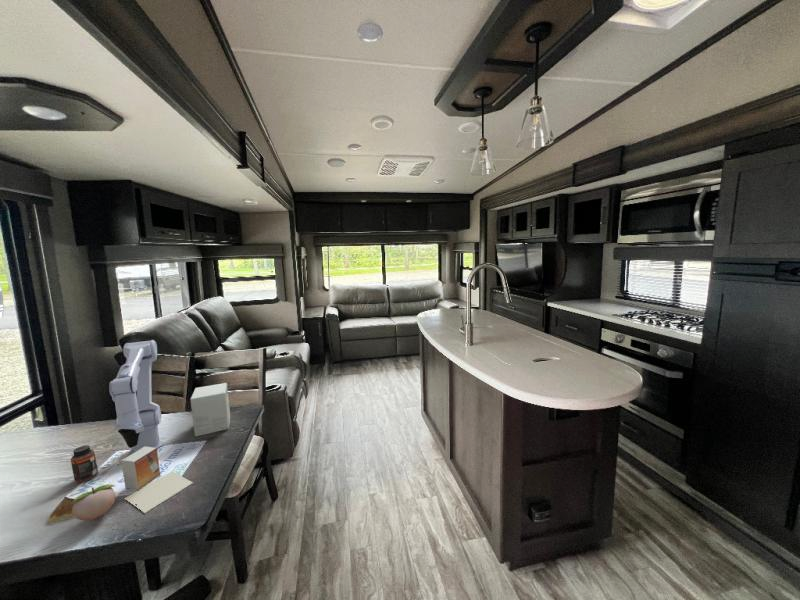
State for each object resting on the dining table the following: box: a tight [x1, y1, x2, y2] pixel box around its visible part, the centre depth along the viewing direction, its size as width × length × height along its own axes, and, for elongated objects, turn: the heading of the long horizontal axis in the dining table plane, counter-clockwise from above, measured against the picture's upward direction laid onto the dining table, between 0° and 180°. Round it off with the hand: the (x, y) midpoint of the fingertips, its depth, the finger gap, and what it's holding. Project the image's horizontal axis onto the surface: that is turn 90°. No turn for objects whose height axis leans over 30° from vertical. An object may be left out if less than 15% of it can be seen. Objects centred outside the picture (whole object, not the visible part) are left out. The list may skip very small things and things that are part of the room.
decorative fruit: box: [71, 484, 116, 522], centre depth 92 cm, size 9×8×10 cm
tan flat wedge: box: [46, 496, 75, 525], centre depth 97 cm, size 11×8×2 cm
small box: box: [120, 446, 161, 491], centre depth 107 cm, size 8×6×10 cm
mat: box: [123, 471, 194, 514], centre depth 103 cm, size 13×14×1 cm
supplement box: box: [190, 382, 231, 437], centre depth 141 cm, size 13×13×18 cm
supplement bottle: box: [70, 444, 99, 483], centre depth 109 cm, size 6×6×11 cm
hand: (132, 446), depth 110 cm, fingers closed
